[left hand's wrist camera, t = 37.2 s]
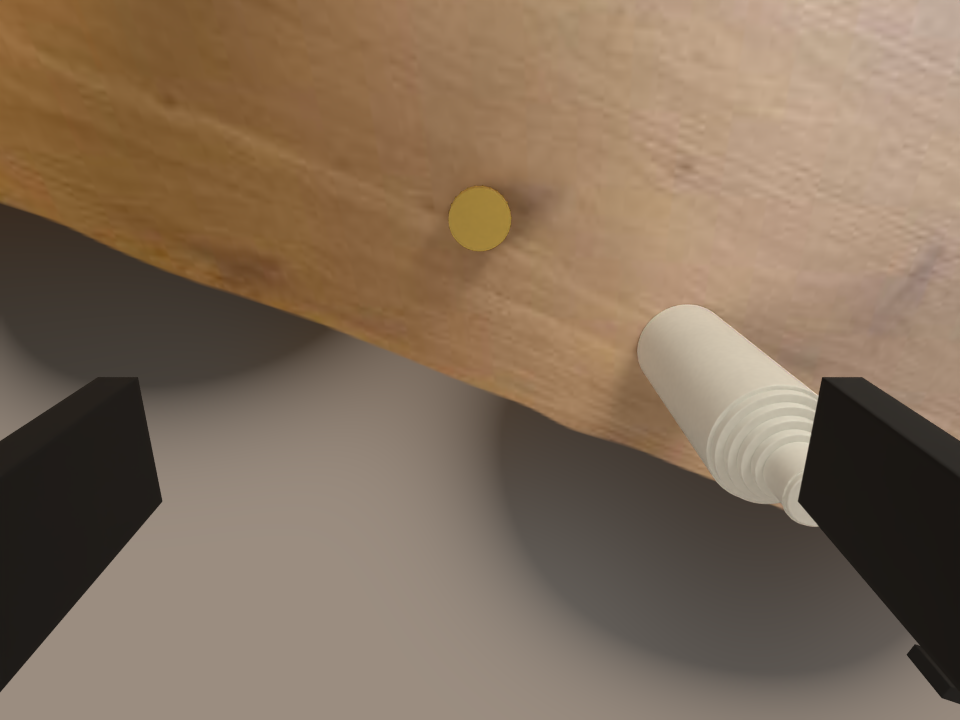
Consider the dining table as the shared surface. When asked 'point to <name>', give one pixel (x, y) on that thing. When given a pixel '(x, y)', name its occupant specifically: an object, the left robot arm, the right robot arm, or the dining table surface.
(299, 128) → the dining table surface
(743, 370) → the bottle
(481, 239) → the cap
